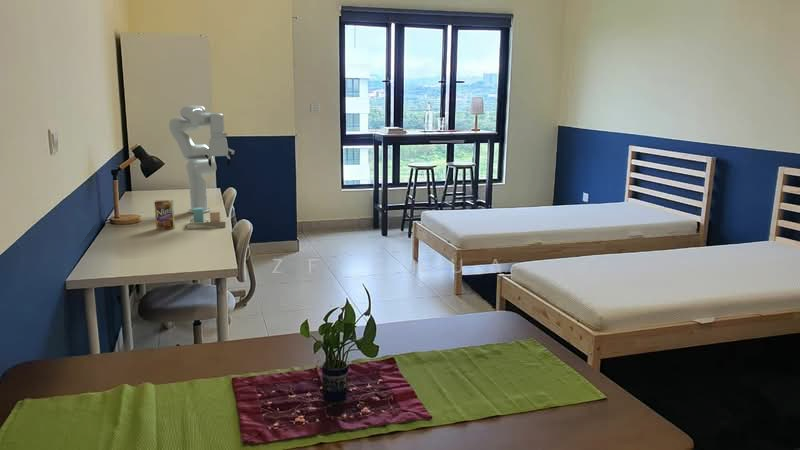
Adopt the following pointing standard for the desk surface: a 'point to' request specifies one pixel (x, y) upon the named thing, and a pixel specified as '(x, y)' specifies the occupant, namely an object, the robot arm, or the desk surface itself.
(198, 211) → the teal block
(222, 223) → the lane shelf
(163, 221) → the candy box
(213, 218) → the ochre block
